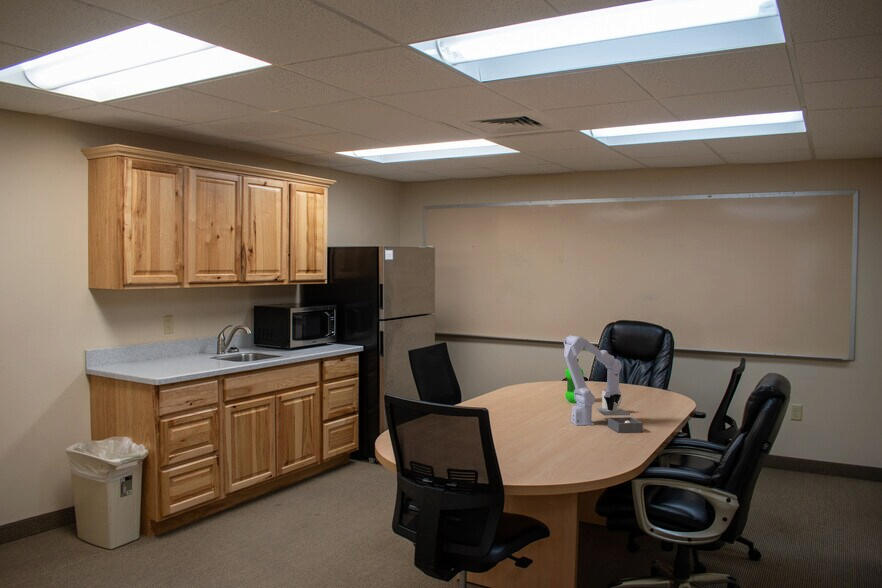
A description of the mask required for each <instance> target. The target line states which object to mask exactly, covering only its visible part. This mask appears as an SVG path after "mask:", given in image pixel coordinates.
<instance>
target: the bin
mask: <svg viewBox="0 0 882 588" xmlns="http://www.w3.org/2000/svg"><path fill="white" fill-rule="evenodd" d="M625 421H630V422H631V423H625ZM607 427H608V428H609V429H610V430H612V431H614V432H616V433H618V434H632V433H633V434H634V433H635V434H636V433H640V434H641V433H643V431H644V423H643V422H642V421H641V420H638V419H636V418H634V417H631V416H624V417H623V416H622V417H608V418H607Z"/></svg>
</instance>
